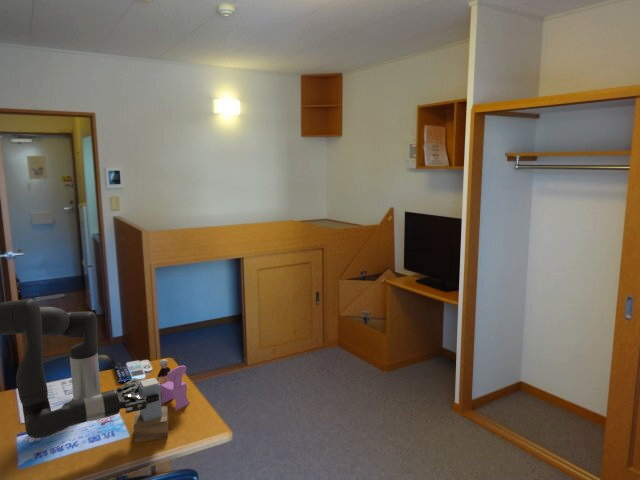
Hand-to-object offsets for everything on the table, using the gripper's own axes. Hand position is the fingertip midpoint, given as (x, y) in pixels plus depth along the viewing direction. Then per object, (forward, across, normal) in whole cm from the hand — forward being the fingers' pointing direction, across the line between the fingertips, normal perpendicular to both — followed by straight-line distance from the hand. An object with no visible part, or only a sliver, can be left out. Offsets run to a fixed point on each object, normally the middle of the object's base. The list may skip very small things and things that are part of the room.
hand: (154, 391), depth 156 cm
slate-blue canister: (-2, 0, +8) cm, 8 cm away
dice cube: (0, +29, +14) cm, 32 cm away
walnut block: (-2, 0, +14) cm, 14 cm away
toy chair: (+10, +14, +14) cm, 22 cm away
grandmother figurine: (+10, +26, +14) cm, 31 cm away
